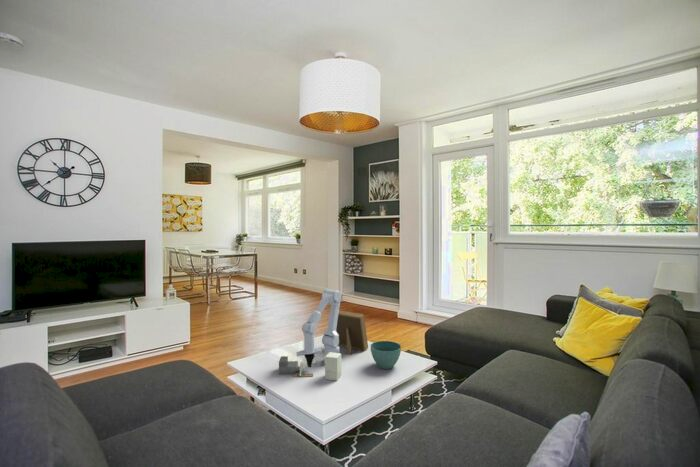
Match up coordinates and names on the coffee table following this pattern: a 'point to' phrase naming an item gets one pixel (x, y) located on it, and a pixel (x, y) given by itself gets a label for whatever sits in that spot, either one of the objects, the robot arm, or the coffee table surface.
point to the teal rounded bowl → (385, 353)
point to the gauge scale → (303, 375)
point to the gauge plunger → (301, 367)
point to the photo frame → (352, 331)
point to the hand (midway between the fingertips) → (309, 366)
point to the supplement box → (333, 366)
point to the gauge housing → (287, 366)
